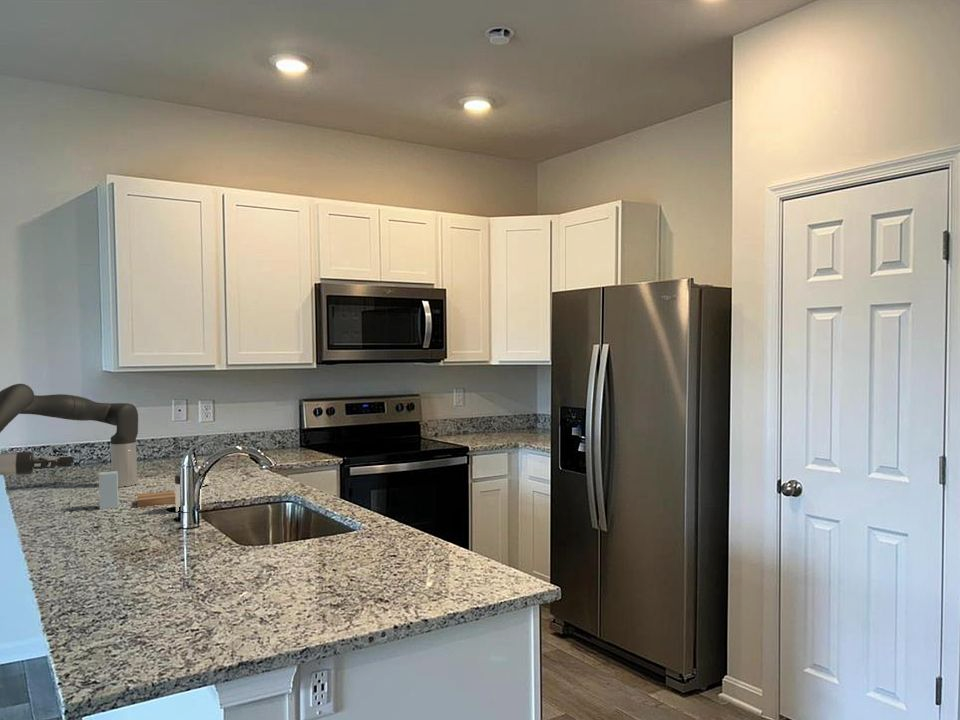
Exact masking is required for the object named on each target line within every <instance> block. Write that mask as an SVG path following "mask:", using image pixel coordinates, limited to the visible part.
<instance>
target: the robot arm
mask: <svg viewBox="0 0 960 720" xmlns="http://www.w3.org/2000/svg"><path fill="white" fill-rule="evenodd" d="M19 415H34V416H35V415H37V416H43V417H48V418H57V419H62V420H69V421H70V420H71V421H83V422H84V421H85V422H86V421H95V422H99V423H103V424H108V425H112V426H115V427H116V431H115V434H114V435H112V436H111V437H110V460H111V462H110V463H111V471H118V488H124V486H126V487H132V486H136V485H138V462H137V461H138V459H137V457H138V456H137V455H138V454H137V436H138V433H139V411H138V409H137V407H136V406H135V405H134V404H133V403H123V402H119V403H118V402H116V403H113V402H111V403H109V402H107V403H106V402H97V401H94V400H92V399H89V398H86V397H84V396H79V395H73V394H63V393H61V394H60V393H59V394H47V395H45V394H44V395H43V394H41V395H36V394H35V393H34V390H33V389H32V387H30V386H29V385H27V384H25V383H16V384H15V383H14V384H12V385H10V386H8V387H5V388H4V389H1V390H0V433H1V432H2V431H3V430H4V429H5V428H6V427H7V426H8V425H9V424H10V423H11V422H12V421H13V420H15V418H16V417H17V416H19ZM74 459H75V458H74V456H60V455H56V456H54V455H50V456H49V455H48V456H46V455H42V456H41V455H40V456H39V457H37V458H35V454H34V452H33V451H15V452H14V451H13V452H11V451H9V452H1V453H0V476H21V475H22V476H24V475H25V476H26V475H32V474H33V473H34V470H37V469H38V470H46V469H47V470H49V469H56V468H59V467H70V466H71V465H72V464H74V462H75V460H74ZM135 484H136V485H135ZM131 485H132V486H131Z"/></svg>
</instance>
